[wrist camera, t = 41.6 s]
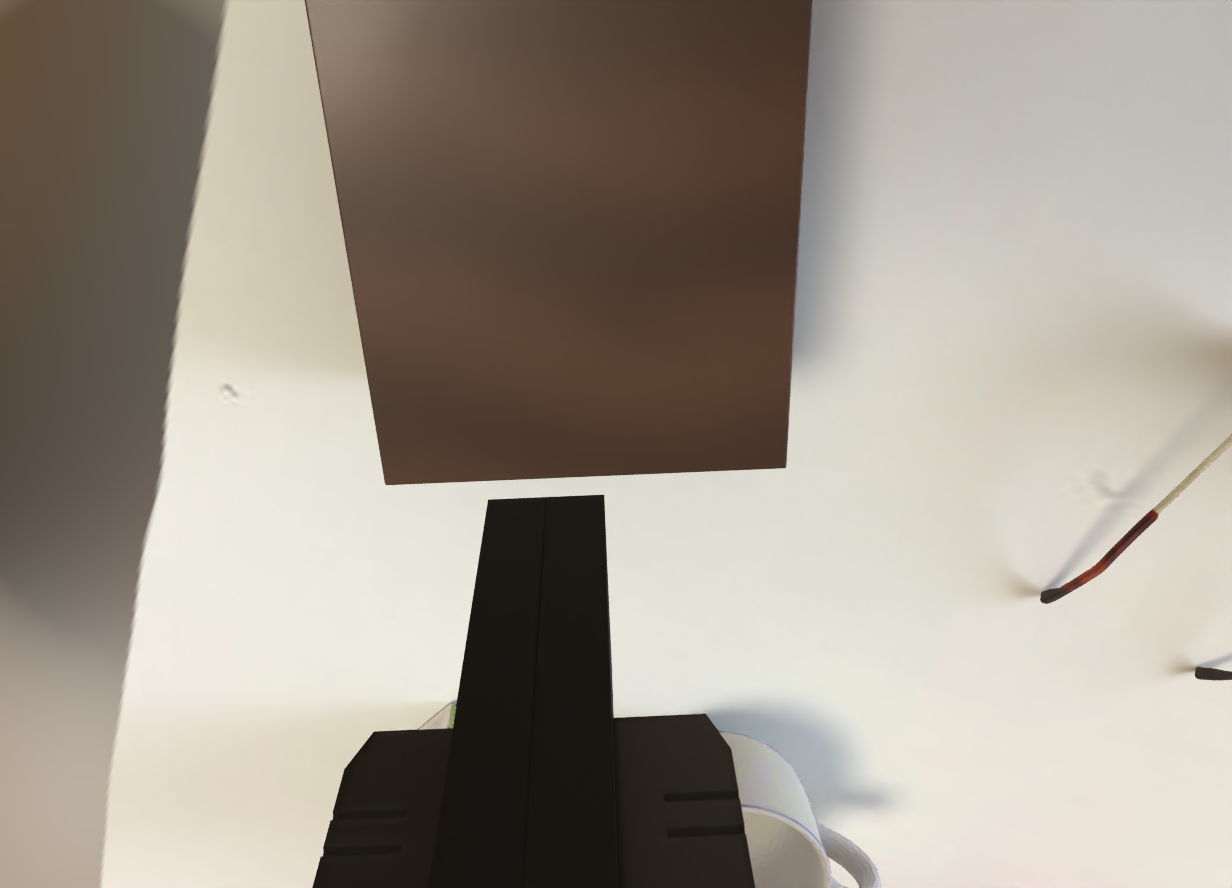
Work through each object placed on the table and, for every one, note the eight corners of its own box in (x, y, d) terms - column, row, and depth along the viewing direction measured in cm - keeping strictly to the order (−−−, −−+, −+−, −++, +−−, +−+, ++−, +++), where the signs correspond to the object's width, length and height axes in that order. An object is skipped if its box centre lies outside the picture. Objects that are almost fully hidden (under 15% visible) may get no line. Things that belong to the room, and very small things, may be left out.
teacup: (578, 810, 58) (577, 936, 51) (662, 674, 54) (675, 792, 47) (792, 875, 62) (819, 1003, 55) (889, 752, 57) (932, 874, 50)
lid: (297, -82, 30) (290, -81, 29) (813, -101, 30) (818, -101, 29) (388, 474, 39) (385, 485, 38) (782, 457, 39) (786, 468, 38)
